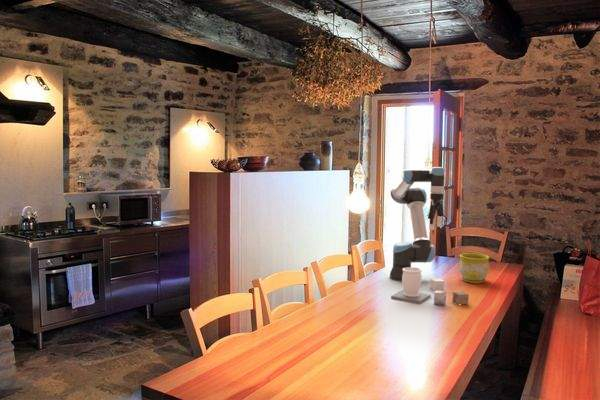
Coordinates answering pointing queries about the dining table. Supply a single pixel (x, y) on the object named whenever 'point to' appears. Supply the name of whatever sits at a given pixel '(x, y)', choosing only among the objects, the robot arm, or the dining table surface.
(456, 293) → the walnut block
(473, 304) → the dining table surface
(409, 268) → the jar
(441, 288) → the offwhite block
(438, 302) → the metal tin
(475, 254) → the flowerpot
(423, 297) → the slate board
